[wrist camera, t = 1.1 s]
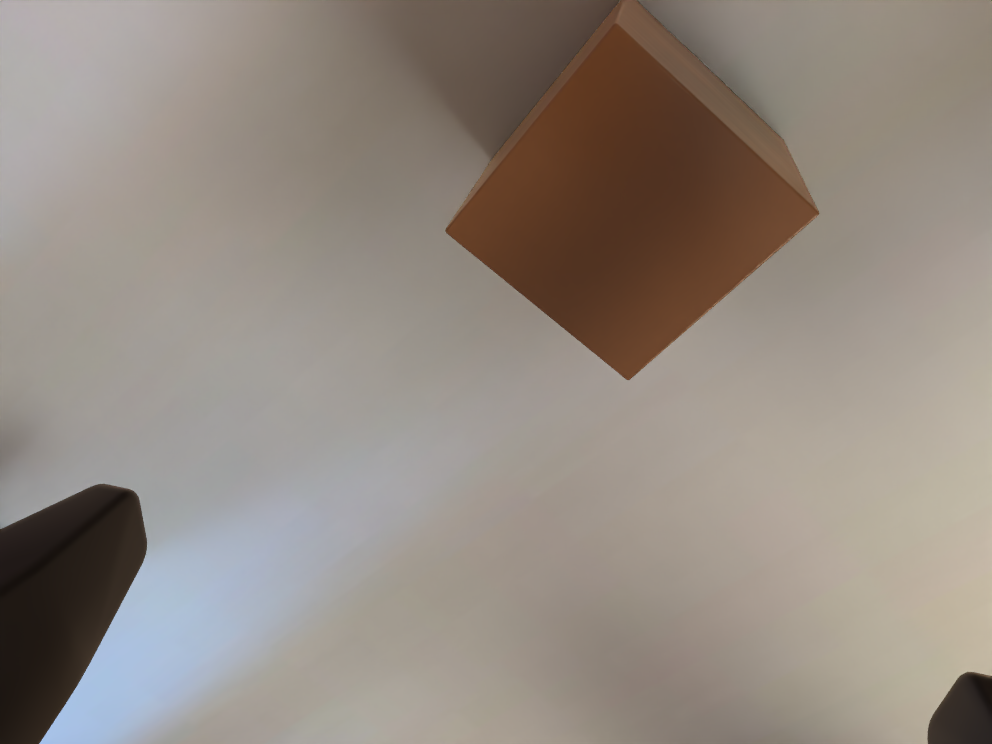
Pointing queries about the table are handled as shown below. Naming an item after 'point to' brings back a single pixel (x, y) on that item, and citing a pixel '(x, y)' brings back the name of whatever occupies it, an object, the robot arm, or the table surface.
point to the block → (633, 194)
